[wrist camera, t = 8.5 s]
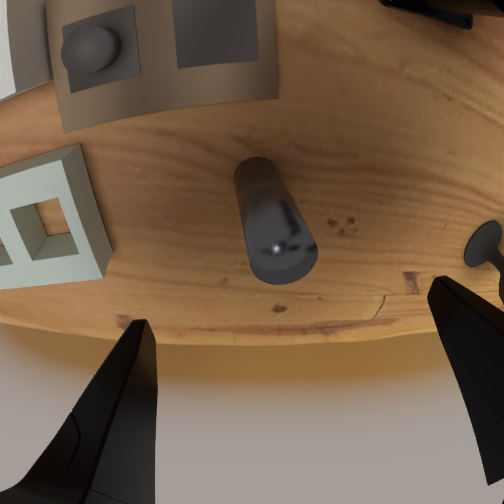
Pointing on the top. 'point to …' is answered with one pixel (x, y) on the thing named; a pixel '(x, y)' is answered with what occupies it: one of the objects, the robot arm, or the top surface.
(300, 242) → the peg
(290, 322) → the top surface
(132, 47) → the board
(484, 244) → the sundae
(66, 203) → the board
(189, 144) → the top surface
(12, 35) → the white rectangular block
